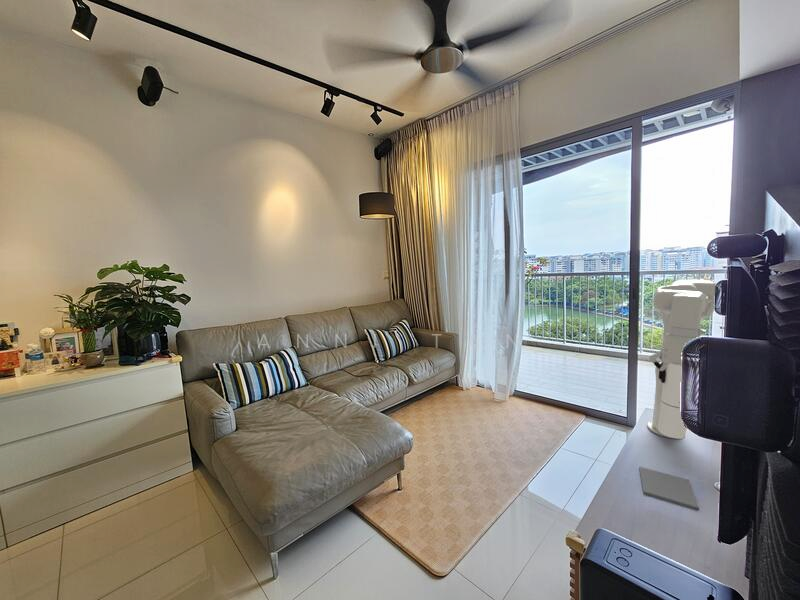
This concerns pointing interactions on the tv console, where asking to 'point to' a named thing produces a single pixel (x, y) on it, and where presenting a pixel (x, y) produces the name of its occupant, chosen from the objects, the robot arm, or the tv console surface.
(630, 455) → the tv console surface
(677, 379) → the cylindrical container
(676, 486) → the rubber mat
